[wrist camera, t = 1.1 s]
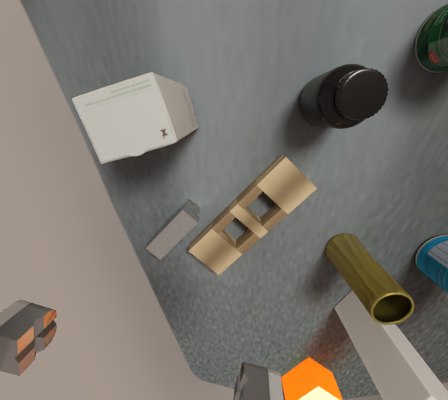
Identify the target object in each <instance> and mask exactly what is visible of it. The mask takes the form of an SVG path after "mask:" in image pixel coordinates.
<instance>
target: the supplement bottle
mask: <svg viewBox="0 0 448 400" xmlns="http://www.w3.org/2000/svg"><path fill="white" fill-rule="evenodd" d="M387 86H388V84H387V83H386V79H385V78H384V75H382V74H381V72H378V71H377V70H374V69H368V68H366V67H364V66H362V65H358V64H347V65H343V66H340V67H337V68H335V69H333V70H331V71H328V72H326V73H324V74H322V75H320V76H318V77H316V78H314V79H312V80H311V81H310V82H309V83H308V84H307V85H306V86H305V87H304V89H303V90H302V92H301V95H300V99H299V109H300V113H301V115H302V117H303V118H304V119H305V120H306V121H307V122H308V123H310V124H312V125H315V126H321V127H329V128H338V129H344V128H350V127H353V126H355V125H357V124H359V123H361V122H362V121H363V120H365V119H366V118H369V117H371V116H373V115H374V114H375V113H377V112H378V111H379V110H380V109H381V108H382V106H383V105H384V103H385V101H386V97H387V95H388V93H387V92H388V87H387Z"/></svg>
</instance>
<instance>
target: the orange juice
mask: <svg viewBox="0 0 448 400" xmlns="http://www.w3.org/2000/svg"><path fill="white" fill-rule="evenodd" d="M281 378H282V384H283V389H284V394H285V399H286V400H343V399H342V397H341V394H340V392H339V389H338V387H337V384H336V381H335V379H334V376H333V374H332V372H330V371H329V370H327V369H326V368H324V367H323V366H321V365H320V364H318V363H317V362H315V361H314V360H312V359H311V358H309V357H308V358H307V359H306V360H304V361H303V362H302V363H300V364H299V365H298V366H296V367H295V368H293V369H292V370H291V371H289V372H288V373H287V374H285V375H284V376H283V377H281Z"/></svg>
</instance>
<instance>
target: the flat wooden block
mask: <svg viewBox="0 0 448 400" xmlns="http://www.w3.org/2000/svg"><path fill="white" fill-rule="evenodd" d="M316 189H317V188H316V187H315V186H314V185H313V184H312V183H311V182H310V181H309V180H308V179H307V178H306V177H305V176H304V175H303V174H302V173H301V172H300V171H299V170H298V169H297V168H296V167H295V166H294V165H293V163H292V162H291V161H290V160H289V159H288V158H287V157H286V156H284V155H283V154H281V155H280V156H279V157H278V158H277V159H276V160H275V161H274V162H273V163H272V164H271V165H270V166H269V167H268V168H267V169H266V170H264V171H263V172H262V173H261V174H260V175H259V176H258V177H257V178H256V179H255V180H254V181H253V182H252V183H251V184H250V185H249V186H248V187H247V188H246V189H245V190H244V191H243V192H242V193H241V194H240V195H239V196H238V197H237V198H236V199H235V200H234V201H233V202H232V203H231V204H230V205H229V206H228V207H227V208H226V209H225V210H224V211H223V212H222V213H221V214H219V215H218V216H217V217H216V218H215V219H214V220H213V221H212V222H211V223H210V224H209V225H208V226H207V227H206V228H205V229H204V230H203V231H202V232H201V233H200V234H199V235H198V236H197V237H196V238H195V239H194V240H193V241H192V242H191V244H190V248H189V252H190V253H191V254H193V255H194V256H195V257H196V258H198V259H199V260H200V261H201V262H203V263H204V264H205V265H206V266H208V267H209V268H210V269H212V270H213V271H214V272H215V273H217V274H218V275H219V274H221V273H222V272H223V271H224V270H225V269H226V268H227V267H229V266H230V265H231V264H232V263H233V262H234V261H235V260H237V259H238V258H239V257H240V256H241V255H242V254H243V253H245V252H246V251H247V250H248V249H249V248H250V247H251V246H252V245H254V244H255V243H256V242H257V241H258V240H259V239H260V238H262V237H263V236H264V235H265V234H266V233H267V232H268V231H270V230H271V229H272V228H273V227H274V226H275V225H276V224H278V223H279V222H280V221H281V220H282V219H283V218H284V217H285V216H287V215H288V214H289V213H290V212H291V211H292V210H293V209H295V208H296V207H297V206H298V205H299V204H300V203H301V202H303V201H304V200H305V199H306V198H307V197H308V196H309V195H311V194H312V193H313V192H314V191H315V190H316ZM262 192H264V193H266V194H267V195H268V196H269V197H270V198H271V199H272V200H273V201H274V202H275V203H276V205H274V206H273V207H272V208H271V209H270V210H269V211H268V212H267V213H266V214H265V215H263V216H262V217H261V218H259V217H258V216H257V215H256V214H255V213H254V212H252V211H251V210H250V209H249V208H248V207H247V206H248V205H249V204H250V203H251V202H252V201H253V200H254V199H256V198H257V197H258V196H259V195H260V194H261V193H262ZM235 217H236V218H237V219H238V220H240V221H241V222H242V223H243V224H244V225H245V226H246V227H248V228H249V229H248V230H247V231H246V232H245V233H244V234H243V235H241V236H240V237H239V238H238V239H237V240H235V239H234V238H232V237H231V236H230V235H229V234H228V233H227V232H225V231H224V230H223V229H224V228H225V227H226V226H227V225H228V224H229V223H230V222H231V221H232V220H233V219H234V218H235Z"/></svg>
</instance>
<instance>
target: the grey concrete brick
mask: <svg viewBox="0 0 448 400" xmlns="http://www.w3.org/2000/svg"><path fill="white" fill-rule="evenodd" d="M199 209H200V207H199V206H197V205H196V204H195V203H194V202H193V201H192V200H190V199H188V200H187V201H186V202H185V203H184V205H183V206H182V207H181V208H180V209H179V211H178V212H177V214H176V215H175V216H174V217H173V218H172V219H171V220H170V221H169V222H167V223H166V224H165V225H164V226H163V227H162V228H161V229H160V230H159V231H158V233H157V235H156V236H155V237H154V238H153V239H152V240H151V241H150V242H149V244H148V245H147V247H146V248H145V249H147V250H148V251H149V252H151V253H152V254H153V255H155V256H156V257H157V258H159V259H160V260H161V259H162V258H163V257H164V256H165V255H166V254H167V253H168V252H169V251H170V250H171V249H172V248H173V247H174V246H175V245H176V244H177V243H178V242H179V241H180V240H181V239H182V238H183V237H184V236H185V235H186V234H187V233H188V232H189V231H190V230H191V229H192V228H193V227H194V226H195V225H196V224H197V223H198V221H199V216H198V212H199Z"/></svg>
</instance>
